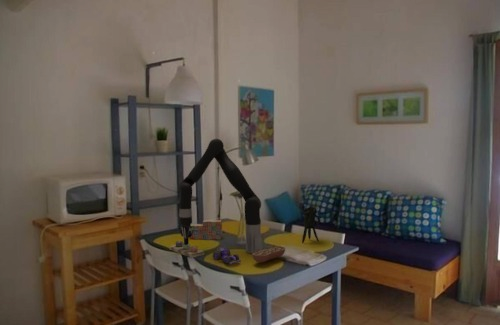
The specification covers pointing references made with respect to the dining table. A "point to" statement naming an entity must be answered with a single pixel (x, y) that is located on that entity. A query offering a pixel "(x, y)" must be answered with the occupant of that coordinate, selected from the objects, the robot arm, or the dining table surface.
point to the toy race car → (225, 255)
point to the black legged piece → (309, 221)
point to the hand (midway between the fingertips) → (186, 244)
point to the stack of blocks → (207, 230)
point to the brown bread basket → (268, 253)
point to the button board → (186, 251)
